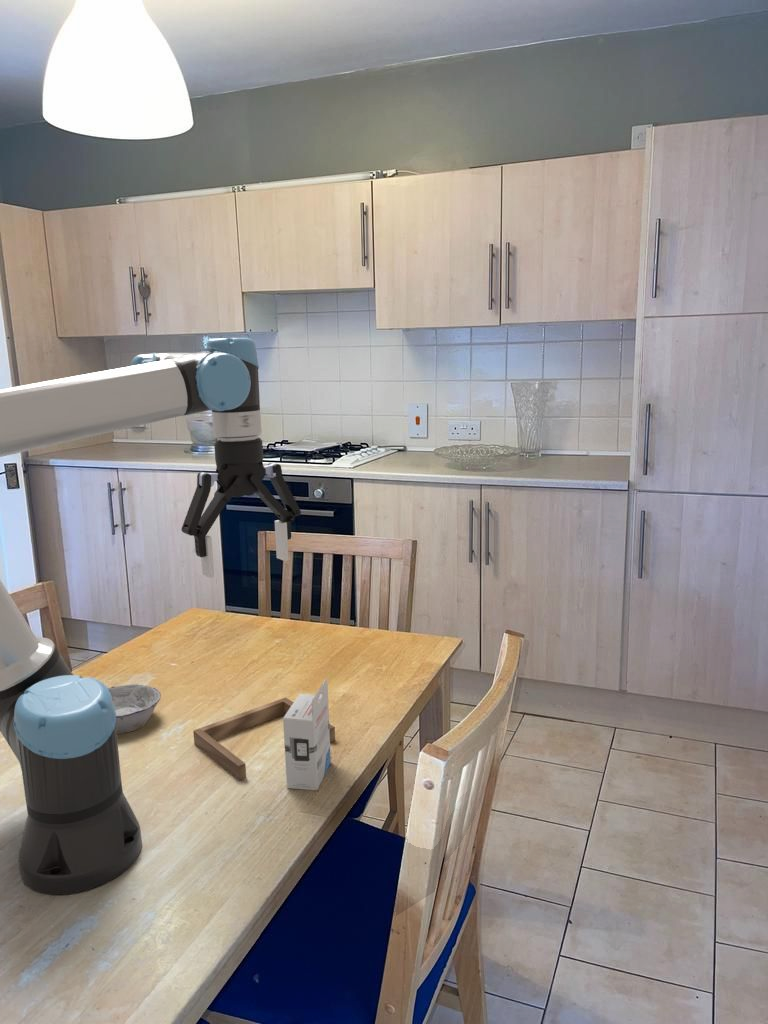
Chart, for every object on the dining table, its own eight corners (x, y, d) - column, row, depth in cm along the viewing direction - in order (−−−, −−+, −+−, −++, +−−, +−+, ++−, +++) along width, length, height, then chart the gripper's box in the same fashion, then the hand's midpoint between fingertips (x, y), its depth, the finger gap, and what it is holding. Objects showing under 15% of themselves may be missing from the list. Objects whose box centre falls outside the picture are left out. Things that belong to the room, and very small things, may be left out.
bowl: (70, 730, 138) (67, 705, 137) (126, 701, 149) (123, 678, 148) (122, 747, 131) (120, 721, 130) (176, 715, 142) (174, 691, 141)
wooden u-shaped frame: (239, 780, 120) (238, 766, 120) (194, 744, 132) (193, 730, 131) (335, 740, 132) (334, 726, 131) (286, 709, 143) (285, 697, 143)
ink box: (302, 759, 126) (298, 674, 123) (331, 762, 125) (328, 676, 122) (285, 789, 118) (280, 698, 115) (317, 791, 117) (312, 701, 114)
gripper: (172, 448, 112) (184, 588, 117) (317, 432, 127) (323, 557, 132) (152, 443, 118) (164, 577, 123) (293, 428, 133) (299, 548, 138)
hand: (246, 567), depth 127 cm, fingers open, 13 cm apart
